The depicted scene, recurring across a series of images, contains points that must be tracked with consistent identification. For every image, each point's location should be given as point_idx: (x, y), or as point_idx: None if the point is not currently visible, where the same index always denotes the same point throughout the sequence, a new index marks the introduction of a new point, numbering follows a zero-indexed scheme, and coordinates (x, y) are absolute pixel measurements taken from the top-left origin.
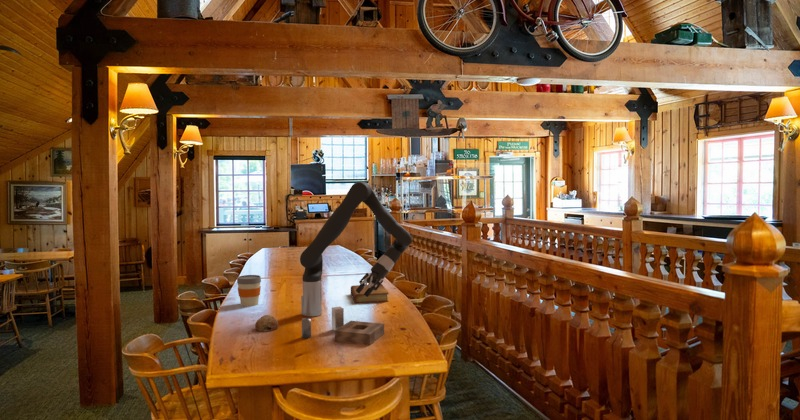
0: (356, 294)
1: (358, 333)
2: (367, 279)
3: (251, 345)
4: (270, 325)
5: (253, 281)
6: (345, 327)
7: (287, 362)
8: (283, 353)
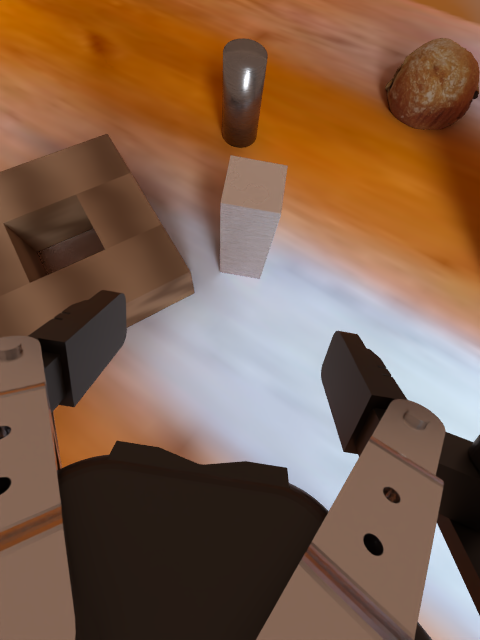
0: None
1: None
2: (329, 543)
3: (275, 13)
4: (397, 77)
5: None
6: (108, 187)
7: (70, 4)
8: (145, 28)
